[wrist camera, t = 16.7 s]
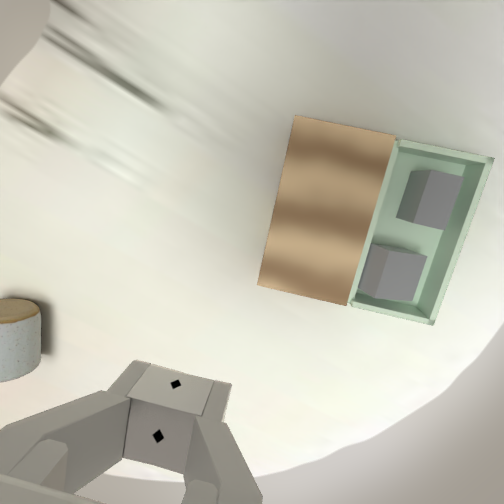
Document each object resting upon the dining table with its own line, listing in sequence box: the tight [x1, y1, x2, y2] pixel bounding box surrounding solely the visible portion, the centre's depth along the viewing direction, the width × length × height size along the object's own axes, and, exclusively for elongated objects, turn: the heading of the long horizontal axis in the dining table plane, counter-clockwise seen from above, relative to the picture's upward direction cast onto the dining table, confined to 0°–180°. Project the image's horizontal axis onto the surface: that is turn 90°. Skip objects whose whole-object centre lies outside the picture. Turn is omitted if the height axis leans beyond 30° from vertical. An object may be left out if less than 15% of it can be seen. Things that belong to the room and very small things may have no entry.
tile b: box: [358, 243, 427, 301], centre depth 34 cm, size 5×5×3 cm
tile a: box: [396, 170, 464, 231], centre depth 32 cm, size 5×5×3 cm
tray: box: [347, 139, 495, 326], centre depth 34 cm, size 17×9×4 cm, turn 168°
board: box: [257, 115, 396, 306], centre depth 35 cm, size 18×10×3 cm, turn 168°
